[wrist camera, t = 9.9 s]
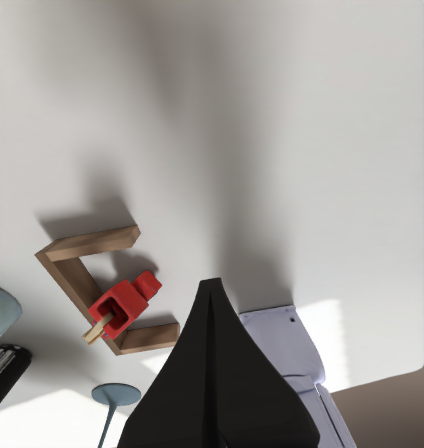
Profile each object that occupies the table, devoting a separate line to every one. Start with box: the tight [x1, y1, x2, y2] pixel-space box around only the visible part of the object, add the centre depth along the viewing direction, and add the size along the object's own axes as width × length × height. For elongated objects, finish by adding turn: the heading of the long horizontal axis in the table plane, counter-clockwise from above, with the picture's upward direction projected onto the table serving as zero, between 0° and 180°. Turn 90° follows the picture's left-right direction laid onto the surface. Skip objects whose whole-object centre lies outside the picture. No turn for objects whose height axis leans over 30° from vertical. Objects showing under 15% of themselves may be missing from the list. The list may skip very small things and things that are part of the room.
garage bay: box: [35, 225, 180, 356], centre depth 23 cm, size 10×20×3 cm, turn 10°
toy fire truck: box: [82, 270, 162, 346], centre depth 19 cm, size 3×14×10 cm, turn 137°
